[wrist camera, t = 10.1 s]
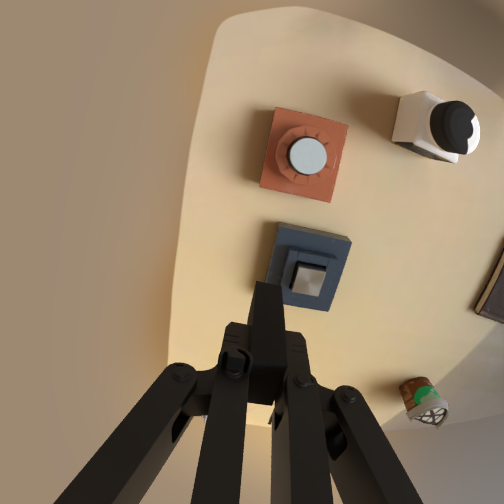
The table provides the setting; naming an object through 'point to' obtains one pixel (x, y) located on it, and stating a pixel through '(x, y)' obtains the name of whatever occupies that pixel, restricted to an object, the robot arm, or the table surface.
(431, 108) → the medicine bottle
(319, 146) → the white round push button
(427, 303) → the table surface
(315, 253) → the push button base
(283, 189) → the orange button base
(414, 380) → the food container
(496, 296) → the hardcover book
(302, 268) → the pump square
